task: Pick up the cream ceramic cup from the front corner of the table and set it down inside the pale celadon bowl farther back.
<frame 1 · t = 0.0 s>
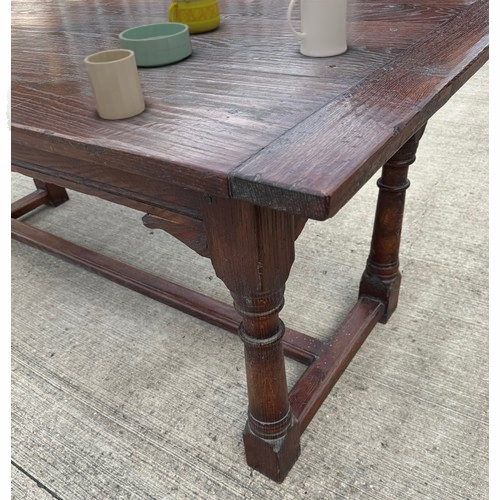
mug 2: (194, 31, 115), on the table
mug: (315, 53, 93), on the table
cup: (122, 110, 77), on the table
bowl: (158, 58, 99), on the table
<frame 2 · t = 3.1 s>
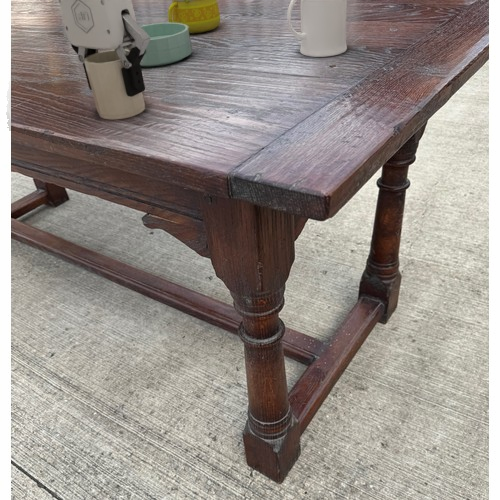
hand: (117, 89, 75), 3 cm above the table, tool pointing down, fingers closed on cup, 7 cm apart
cup: (122, 110, 77), on the table, touching gripper
everything else where it was.
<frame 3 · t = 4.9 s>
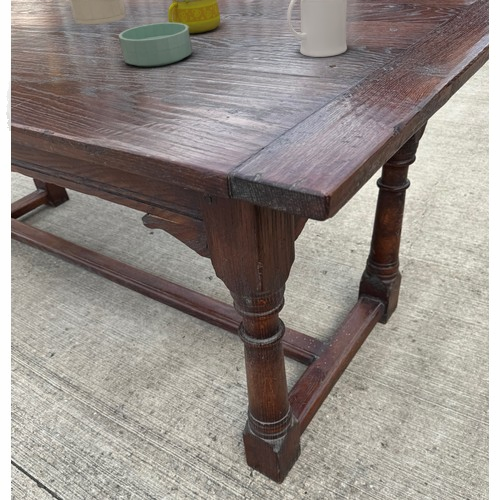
cup: (100, 18, 70), point 13 cm above the table, touching gripper
everything else where it was.
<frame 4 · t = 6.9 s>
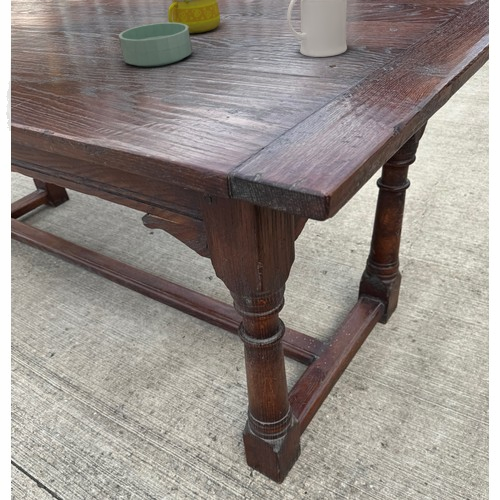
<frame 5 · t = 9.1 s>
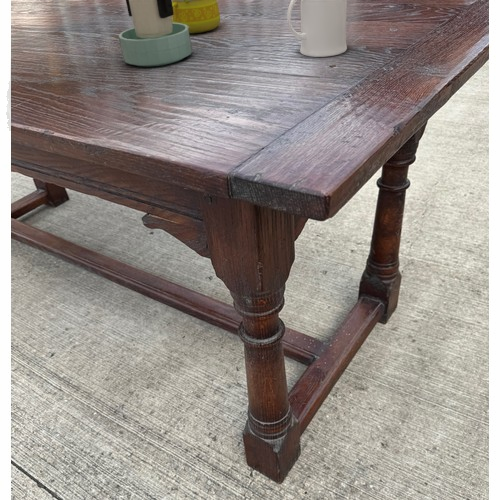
hand: (151, 14, 94), 8 cm above the table, tool pointing down, fingers closed on cup, 7 cm apart
cup: (154, 33, 96), point 5 cm above the table, touching gripper
everything else where it was.
when the fingers open (4 cm above the table, at t = 10.7 s): cup stays where it is, resting on bowl.
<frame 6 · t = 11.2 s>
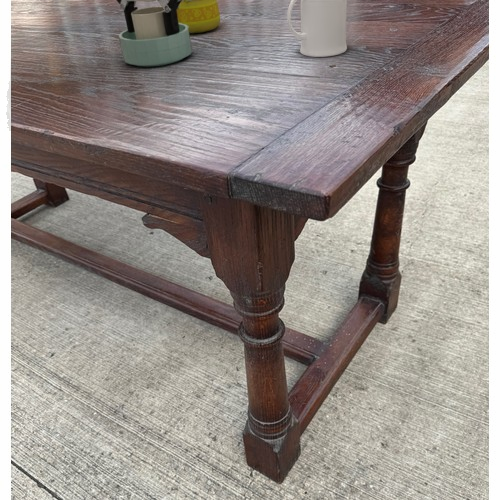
hand: (153, 32, 96), 5 cm above the table, tool pointing down, fingers open, 9 cm apart
cup: (158, 54, 99), point 1 cm above the table, touching bowl
everything else where it was.
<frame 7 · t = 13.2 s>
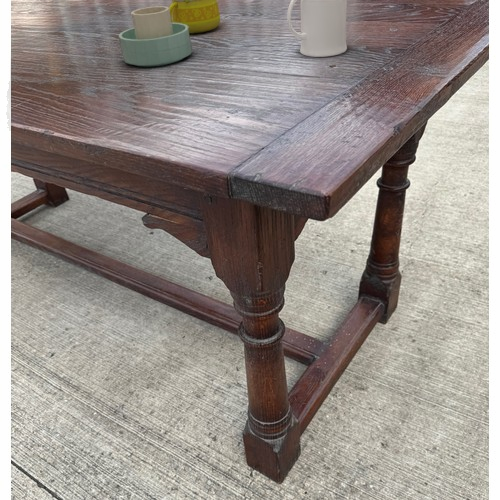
nothing on the table moved.
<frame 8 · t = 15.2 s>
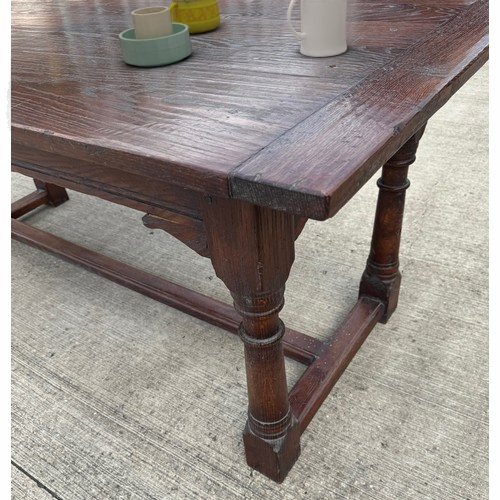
nothing on the table moved.
at the end: cup 0.0 cm off-centre in the bowl, point 0.6 cm above the bowl's base; cup tilted 0° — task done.
